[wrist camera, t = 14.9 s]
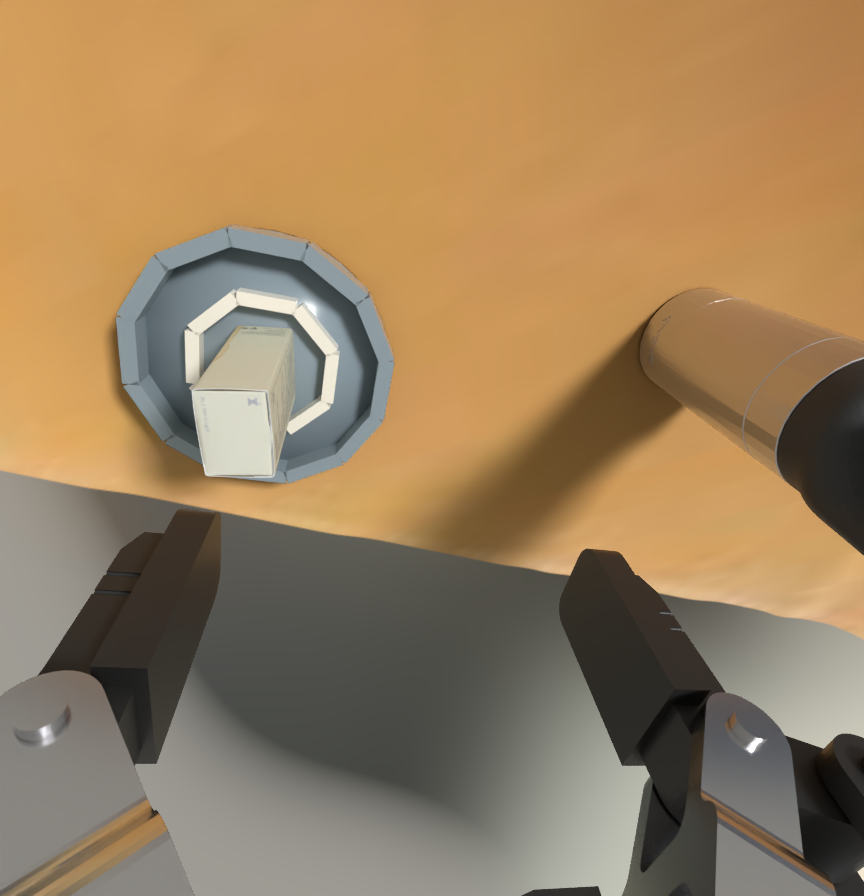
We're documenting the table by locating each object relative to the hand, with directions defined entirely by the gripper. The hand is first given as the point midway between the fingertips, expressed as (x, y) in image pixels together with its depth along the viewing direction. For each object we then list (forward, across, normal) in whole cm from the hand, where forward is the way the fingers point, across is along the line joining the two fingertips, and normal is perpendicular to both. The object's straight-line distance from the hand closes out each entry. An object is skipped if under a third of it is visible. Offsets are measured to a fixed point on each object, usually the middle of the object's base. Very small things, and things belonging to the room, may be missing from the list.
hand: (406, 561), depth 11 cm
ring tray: (+32, +8, +8) cm, 34 cm away
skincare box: (+31, +8, +8) cm, 33 cm away
